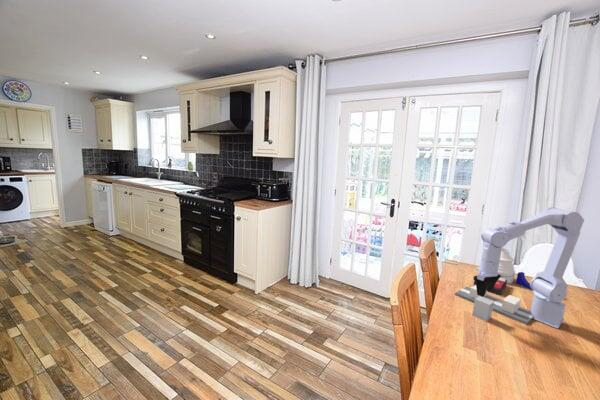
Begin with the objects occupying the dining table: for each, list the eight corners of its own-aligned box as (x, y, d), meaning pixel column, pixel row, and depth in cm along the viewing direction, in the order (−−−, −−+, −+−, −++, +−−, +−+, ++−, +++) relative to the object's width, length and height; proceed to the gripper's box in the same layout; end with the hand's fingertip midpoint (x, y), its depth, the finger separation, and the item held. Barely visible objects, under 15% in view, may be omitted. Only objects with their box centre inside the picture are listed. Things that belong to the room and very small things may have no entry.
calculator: (473, 280, 131) (481, 271, 141) (472, 288, 132) (480, 278, 142) (501, 289, 123) (507, 278, 134) (499, 297, 124) (506, 286, 134)
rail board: (535, 315, 109) (536, 312, 109) (526, 324, 102) (527, 322, 102) (466, 288, 129) (466, 285, 129) (454, 294, 122) (455, 292, 122)
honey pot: (499, 284, 136) (505, 250, 133) (477, 273, 148) (483, 241, 146) (519, 283, 139) (526, 249, 136) (497, 272, 151) (502, 241, 148)
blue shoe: (549, 293, 129) (551, 281, 128) (544, 294, 127) (547, 283, 126) (520, 282, 140) (522, 271, 139) (515, 283, 138) (517, 272, 137)
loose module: (491, 318, 105) (494, 301, 104) (486, 321, 103) (489, 304, 101) (476, 311, 109) (479, 295, 108) (472, 315, 107) (474, 298, 105)
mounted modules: (519, 307, 111) (521, 299, 111) (513, 313, 107) (514, 304, 106) (476, 291, 124) (477, 283, 123) (469, 296, 119) (470, 287, 119)
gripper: (485, 253, 111) (480, 284, 113) (470, 260, 102) (465, 293, 104) (506, 259, 105) (500, 291, 107) (492, 266, 96) (486, 301, 99)
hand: (484, 293), depth 105 cm, fingers open, 7 cm apart
